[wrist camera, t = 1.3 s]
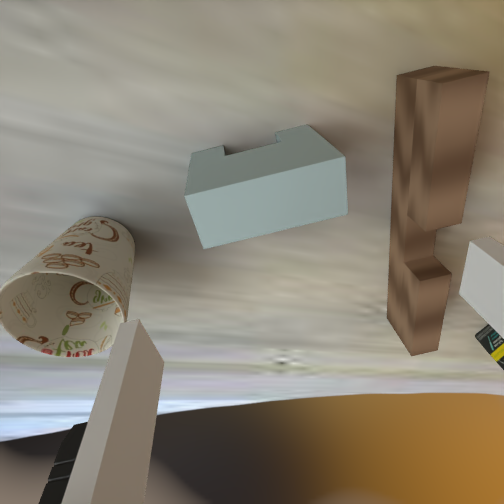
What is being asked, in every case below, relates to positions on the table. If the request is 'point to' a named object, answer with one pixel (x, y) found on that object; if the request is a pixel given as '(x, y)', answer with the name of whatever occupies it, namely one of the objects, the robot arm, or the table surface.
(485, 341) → the tampon box
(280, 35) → the table surface
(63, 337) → the mug
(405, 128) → the walnut rail
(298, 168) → the blue-grey notched block
